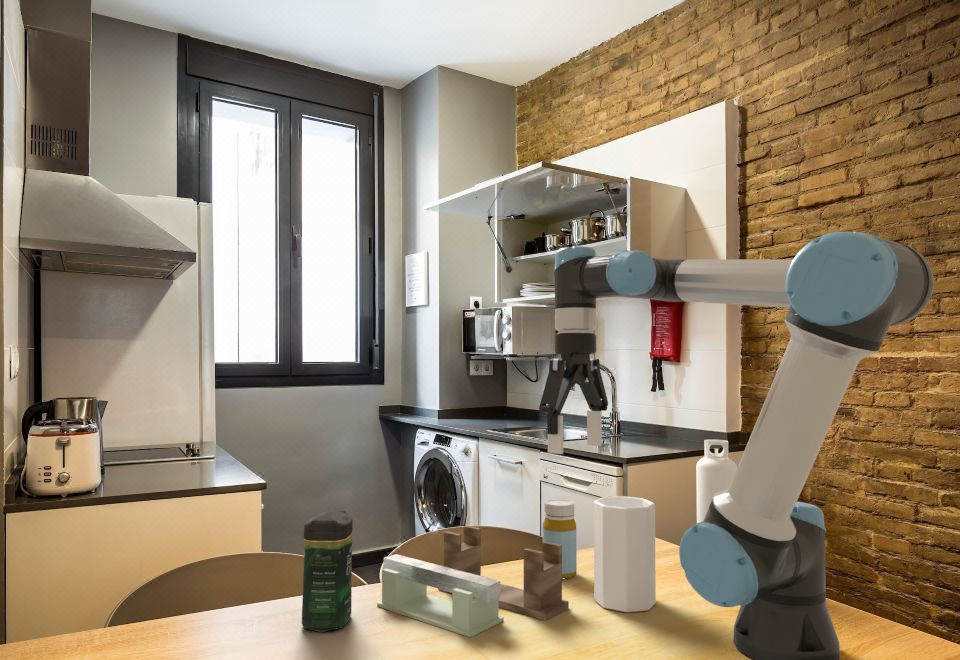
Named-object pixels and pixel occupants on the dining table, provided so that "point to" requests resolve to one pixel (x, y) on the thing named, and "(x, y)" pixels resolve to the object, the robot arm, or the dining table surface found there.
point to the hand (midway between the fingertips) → (575, 449)
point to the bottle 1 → (562, 532)
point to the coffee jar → (327, 571)
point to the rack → (539, 574)
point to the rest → (438, 606)
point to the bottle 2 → (712, 475)
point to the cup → (624, 553)
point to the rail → (444, 577)
